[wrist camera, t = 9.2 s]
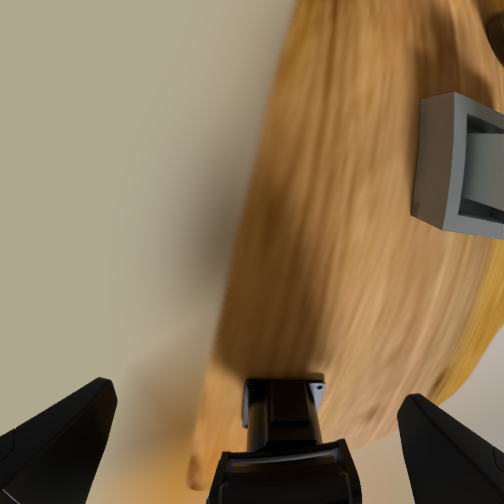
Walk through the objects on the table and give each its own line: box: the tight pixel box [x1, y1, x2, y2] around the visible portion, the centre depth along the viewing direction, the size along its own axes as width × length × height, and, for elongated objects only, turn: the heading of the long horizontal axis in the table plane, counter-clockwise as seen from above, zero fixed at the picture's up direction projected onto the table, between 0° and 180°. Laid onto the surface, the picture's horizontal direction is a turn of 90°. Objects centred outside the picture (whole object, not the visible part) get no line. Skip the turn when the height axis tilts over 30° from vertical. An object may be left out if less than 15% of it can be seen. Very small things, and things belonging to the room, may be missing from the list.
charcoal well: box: [411, 91, 504, 240], centre depth 14 cm, size 8×8×4 cm
